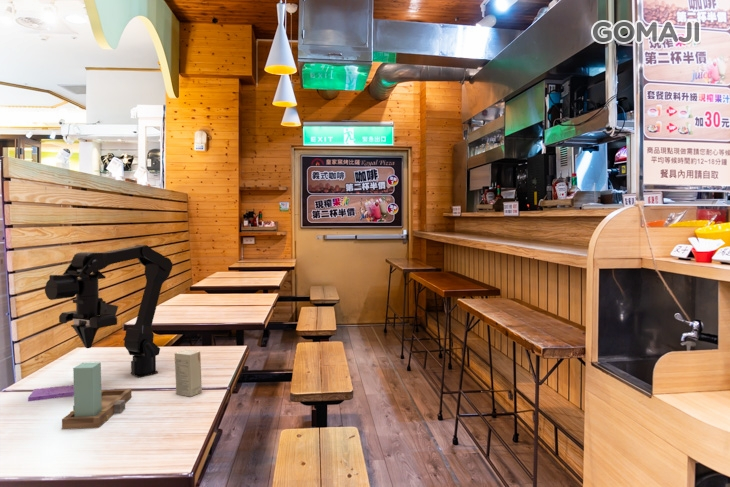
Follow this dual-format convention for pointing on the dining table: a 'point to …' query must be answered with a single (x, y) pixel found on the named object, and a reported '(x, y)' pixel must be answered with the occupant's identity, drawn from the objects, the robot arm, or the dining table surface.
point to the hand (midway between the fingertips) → (88, 347)
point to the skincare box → (188, 372)
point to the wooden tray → (110, 405)
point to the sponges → (51, 393)
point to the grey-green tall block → (87, 389)
